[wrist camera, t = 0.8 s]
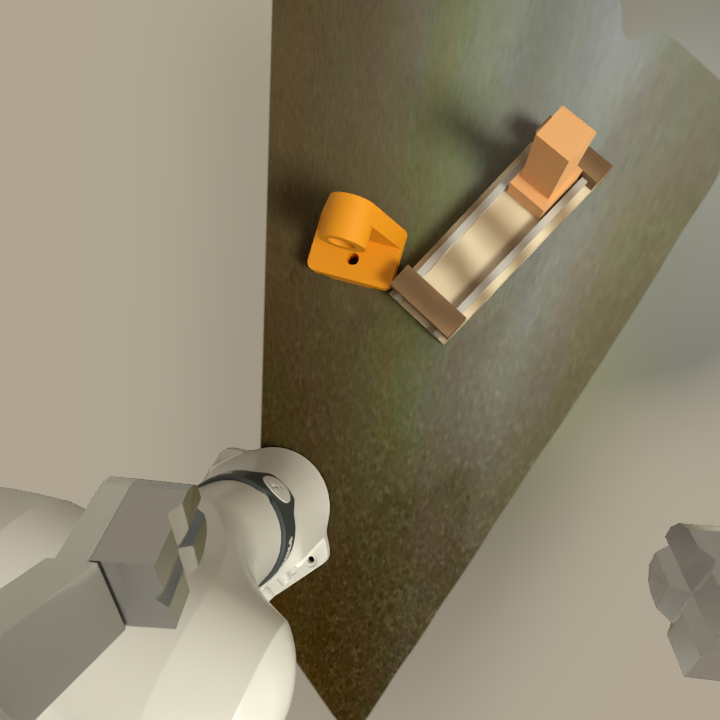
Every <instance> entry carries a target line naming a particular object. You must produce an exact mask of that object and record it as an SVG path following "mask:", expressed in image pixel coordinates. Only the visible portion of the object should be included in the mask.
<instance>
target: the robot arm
mask: <svg viewBox="0 0 720 720" xmlns="http://www.w3.org/2000/svg"><path fill="white" fill-rule="evenodd" d="M329 510H330V504H329V496H328V491H327V488H326V485H325V483H324V480H323V478H322V477H321V475H320V473H319V472H318V470H317V469H316V468H315V467H314V466H313V464H312V463H311V462H309V461H308V460H307V459H306V458H304V457H303V456H301V455H300V454H298V453H296V452H294V451H291V450H288V449H285V448H279V447H267V448H261V449H257V450H250V451H247V450H243V449H239V448H227V449H225V450H223V451H222V452H221V453H220V455H219V456H218V458H217V460H216V461H215V463H214V464H213V466H212V467H211V468H210V469H209V472H208V474H207V475H206V477H205V479H204V480H203V482H202V483H200V484H199V485H190V484H181V483H172V482H162V481H153V480H144V479H134V478H122V477H109V478H108V479H107V480H106V481H105V482H103V483H102V484H101V485H100V487H99V489H98V490H97V492H96V493H95V495H94V497H93V498H92V500H91V502H90V503H89V505H88V506H87V508H86V509H84V508H82V507H80V506H78V505H76V504H74V503H72V502H69V501H66V500H62V499H58V498H54V497H50V496H45V495H41V494H36V493H32V492H26V491H21V490H16V489H11V488H3V487H0V720H285V718H286V715H287V713H288V710H289V707H290V704H291V700H292V696H293V692H294V686H295V678H296V652H295V644H294V640H293V635H292V632H291V629H290V626H289V623H288V621H287V620H286V619H285V618H284V617H283V616H282V615H281V614H280V613H279V612H278V611H277V610H276V609H275V608H274V607H273V606H272V605H271V604H270V602H269V601H270V600H271V599H272V598H273V597H274V596H276V595H277V594H278V593H280V592H281V591H283V590H284V589H286V588H287V587H289V586H290V585H292V584H293V583H295V582H296V581H298V580H299V579H301V578H302V577H304V576H305V575H307V574H308V573H310V572H311V571H313V570H314V569H316V568H317V567H319V566H320V565H322V564H323V563H324V562H326V561H327V560H328V558H329V555H330V549H329V543H328V538H327V524H328V519H329ZM665 537H666V539H667V541H668V544H669V546H667V547H665V548H663V549H661V550H659V551H657V552H656V553H655V554H654V556H653V558H652V560H651V562H650V564H649V576H648V581H649V586H650V592H651V595H652V597H653V600H654V603H655V606H656V608H657V609H658V610H659V611H660V612H661V613H662V614H663V615H664V616H665V617H666V618H667V619H669V621H671V624H670V628H669V630H668V633H667V636H668V638H669V640H670V643H671V646H672V648H673V650H674V653H675V655H676V658H677V660H678V662H679V665H680V667H681V670H682V672H683V675H684V677H691V678H699V679H707V680H715V681H720V526H713V525H698V524H682V523H678V524H676V525H674V526H672V527H671V528H670V530H669V531H668V533H667V534H666V536H665ZM310 556H312V557H313V558H314V561H313V562H312V561H310V560H309V557H310Z"/></svg>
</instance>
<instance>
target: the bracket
mask: <svg viewBox="0 0 720 720" xmlns="http://www.w3.org/2000/svg"><path fill="white" fill-rule="evenodd" d="M406 239H407V232H406V231H405V230H404V229H403V228H401V227H400V226H399V225H398V224H397V223H396V222H394V221H393V220H392V219H391V218H390V217H389V216H387V215H386V214H385V213H384V212H383V211H382V210H380V209H379V208H378V207H377V206H376V205H375V204H373V203H372V202H370V201H369V200H367V199H365V198H362V197H360V196H357V195H354V194H350V193H345V192H332V193H331V194H330V196H329V198H328V200H327V202H326V204H325V206H324V208H323V210H322V213H321V216H320V220H319V223H318V227H317V230H316V233H315V237H314V240H313V244H312V247H311V250H310V254H309V257H308V261H307V263H308V266H309V268H311V269H312V270H313V271H314V272H316V273H319V274H322V275H326V276H329V277H330V278H334V279H338V280H342V281H345V282H349V283H353V284H357V285H360V286H364V287H368V288H375V289H379V290H382V291H387V290H390V289H391V288H392V287H391V285H390V283H391V282H392V281H393V280H394V279H395V277H396V274H397V270H398V267H399V263H400V260H401V256H402V253H403V250H404V246H405V243H406ZM356 257H357V258H359V261H358V262H357V263H356V264H355V265H350V262H351V260H352V259H353V258H356Z"/></svg>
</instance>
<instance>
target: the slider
mask: <svg viewBox="0 0 720 720" xmlns="http://www.w3.org/2000/svg"><path fill="white" fill-rule="evenodd" d="M596 133H597V132H595V131H594V130H593V129H592V128H590V127H589V126H588V125H587V124H585V123H584V122H583V121H582V120H580V119H579V118H578V117H577V116H575V115H574V114H573V113H572V112H570V111H569V110H568V109H567V108H565V107H564V106H562V107H561V108H560V109H559V110H558V111H557V112H556V113H555V114H554V115H553V117H552V118H551V119H550V120H549V121H548V122H547V123H546V124H545V125H544V126H543V127H542V128H541V129H540V130H539V131H538V132H537V134H536V135H535V138H534V141H533V144H532V147H531V149H530V152H529V155H528V158H527V161H526V164H525V167H524V168H523V169H522V170H521V171H520V172H519V173H518V174H517V175H516V176H515V177H514V178H513V179H512V180H511V181H510V183H509V186H508V189H507V193H508V194H509V195H511V196H512V197H513V198H514V199H515V200H517V201H518V202H519V203H520V204H521V205H522V206H524V207H525V208H526V209H527V210H528V211H529V212H531V213H532V214H533V215H534V216H535V217H537V218H538V219H540V218H541V217H542V216H543V215H544V214H545V213H546V212H547V211H548V210H549V209H550V208H551V207H552V206H553V205H554V203H555V202H556V201H557V200H558V199H559V198H560V197H561V196H562V195H563V194H564V193H565V192H566V191H567V190H568V189H569V188H570V187H571V186H572V185H573V184H574V183H575V182H576V180H577V179H578V177H579V175H580V174H581V172H582V171H583V170H582V169H581V168H580V167H578V166H577V165H578V163H579V162H580V160H581V158H582V157H583V155H584V153H585V151H586V150H587V148H588V146H589V145H590V143H591V141H592V139H593V138H594V136H595V134H596Z"/></svg>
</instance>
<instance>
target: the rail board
mask: <svg viewBox="0 0 720 720" xmlns="http://www.w3.org/2000/svg"><path fill="white" fill-rule="evenodd" d="M551 118H552V116H551V115H550V116H549V117H548V118H547V119H546V120H545V121H544V122H543V124H542V125H541V126H540V127H539V128H538V129H537V130H536V131H535V133H534V136H533V139H532V142H531V143H530V144H529V145H528V146H527V147H526V148H525V149H524V150H523V151H522V152H521V153H520V155H519V156H518V157H517V158H516V159H515V160H514V161H513V162H512V163H511V164H510V165H509V166H508V167H507V168H506V169H505V171H504V172H503V173H502V174H501V175H500V176H499V177H498V178H497V179H496V180H495V181H494V182H493V183H492V184H491V185H490V186H489V188H488V189H487V190H486V191H485V192H484V193H483V194H482V195H481V196H480V197H479V198H478V199H477V200H476V201H475V202H474V204H473V205H472V206H471V207H470V208H469V209H468V210H467V211H466V212H465V213H464V214H463V215H462V216H461V217H460V218H459V220H458V221H457V222H456V223H455V224H454V225H453V226H452V227H451V228H450V229H449V230H448V231H447V232H446V233H445V234H444V235H443V237H442V238H441V239H440V240H439V241H438V242H437V243H436V244H435V245H434V246H433V247H432V248H431V249H430V250H429V251H428V253H427V254H426V255H425V256H424V257H423V258H422V259H421V260H420V261H419V262H418V263H417V264H416V265H415V266H414V267H413V268H411V267H410V266H409V265H407V266H406V267H405V268H404V269H403V270H402V271H401V272H400V273H399V275H398V276H397V277H396V278H395V279H394V280H393V281H392V282H391V283H390V285H391V287H392V288H393V290H392V291H391V292H390V293H389V294H390V296H391V297H392V298H393V299H394V300H396V301H397V302H398V303H399V304H400V305H401V306H402V307H403V308H404V309H405V310H406V311H407V312H408V313H410V314H411V315H412V316H413V317H414V318H415V319H416V320H417V321H418V322H419V323H420V324H421V325H422V326H423V327H425V328H426V329H427V330H428V331H429V332H430V333H431V334H432V335H433V336H434V337H435V338H436V339H437V340H439V341H440V342H441V343H442V344H443V345H444V344H445V343H446V342H447V341H448V340H449V339H450V338H451V337H452V336H453V335H454V334H455V333H456V332H457V331H458V330H459V329H460V328H461V327H462V326H463V325H464V324H465V322H466V321H467V320H468V319H469V318H470V317H471V316H472V315H473V314H474V313H475V312H476V311H477V310H478V309H479V308H480V307H481V306H482V305H483V304H484V303H485V302H486V301H487V300H488V299H489V297H490V296H491V295H492V294H493V293H494V292H495V291H496V290H497V289H498V288H499V287H500V286H501V285H502V284H503V283H504V282H505V281H506V280H507V279H508V278H509V277H510V276H511V275H512V274H513V272H514V271H515V270H516V269H517V268H518V267H519V266H520V265H521V264H522V263H523V262H524V261H525V260H526V259H527V258H528V257H529V256H530V255H531V254H532V253H533V252H534V251H535V250H536V249H537V247H538V246H539V245H540V244H541V243H542V242H543V241H544V240H545V239H546V238H547V237H548V236H549V235H550V234H551V233H552V232H553V231H554V230H555V229H556V228H557V227H558V226H559V225H560V224H561V222H562V221H563V220H564V219H565V218H566V217H567V216H568V215H569V214H570V213H571V212H572V211H573V210H574V209H575V208H576V207H577V206H578V205H579V204H580V203H581V202H582V201H583V200H584V199H585V197H586V196H587V195H588V194H589V193H590V192H591V191H592V190H593V189H594V188H595V187H596V186H597V185H598V184H599V183H600V182H601V181H602V180H603V179H604V178H605V176H606V175H607V174H608V172H609V170H610V169H611V168H612V166H613V165H611V164H610V163H609V162H608V161H606V160H605V159H604V158H603V157H601V156H600V155H599V154H598V153H596V152H595V151H594V150H593V149H592V148H590V147H589V146H588V148H587V150H586V151H585V153H584V155H583V157H582V158H581V160H580V162H579V163H578V165H577V166H578V167H580V168H581V169H582V170H583V171H582V172H581V174H580V175H579V177H578V179H577V180H576V182H575V183H574V184H573V185H572V186H571V187H570V188H569V189H568V190H567V191H566V192H565V193H564V194H563V195H562V196H561V197H560V198H559V199H558V200H557V201H556V202H555V203H554V205H553V206H552V207H551V208H550V209H549V210H548V211H547V212H546V213H545V214H544V215H543V216H542V217H541V218H540V219H538V218H537V217H535V216H534V215H533V214H532V213H531V212H529V211H528V210H527V209H526V208H525V207H524V206H522V205H521V204H520V203H519V202H518V201H517V200H515V199H514V198H513V197H512V196H511V195H509V194H508V193H507V189H508V186H509V183H510V181H511V180H512V179H513V178H514V177H515V176H516V175H517V174H518V173H519V172H520V171H521V170H522V169H523V168H524V167H525V164H526V161H527V158H528V155H529V152H530V149H531V147H532V144H533V141H534V138H535V135H536V134H537V132H538V131H539V130H540V129H541V128H542V127H543V126H544V125H545V124H546V123H547V122H548V121H549V120H550V119H551Z"/></svg>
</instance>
